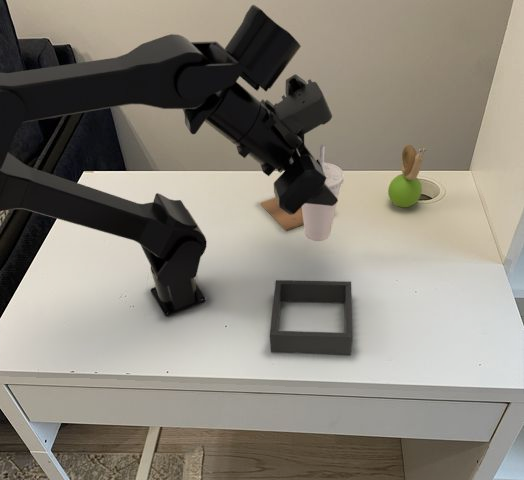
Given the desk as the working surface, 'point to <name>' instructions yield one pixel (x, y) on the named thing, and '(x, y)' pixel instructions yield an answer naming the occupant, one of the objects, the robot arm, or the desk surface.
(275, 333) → the dark grey square frame
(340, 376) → the desk surface
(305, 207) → the smoothie
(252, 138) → the robot arm
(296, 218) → the coaster
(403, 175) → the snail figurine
